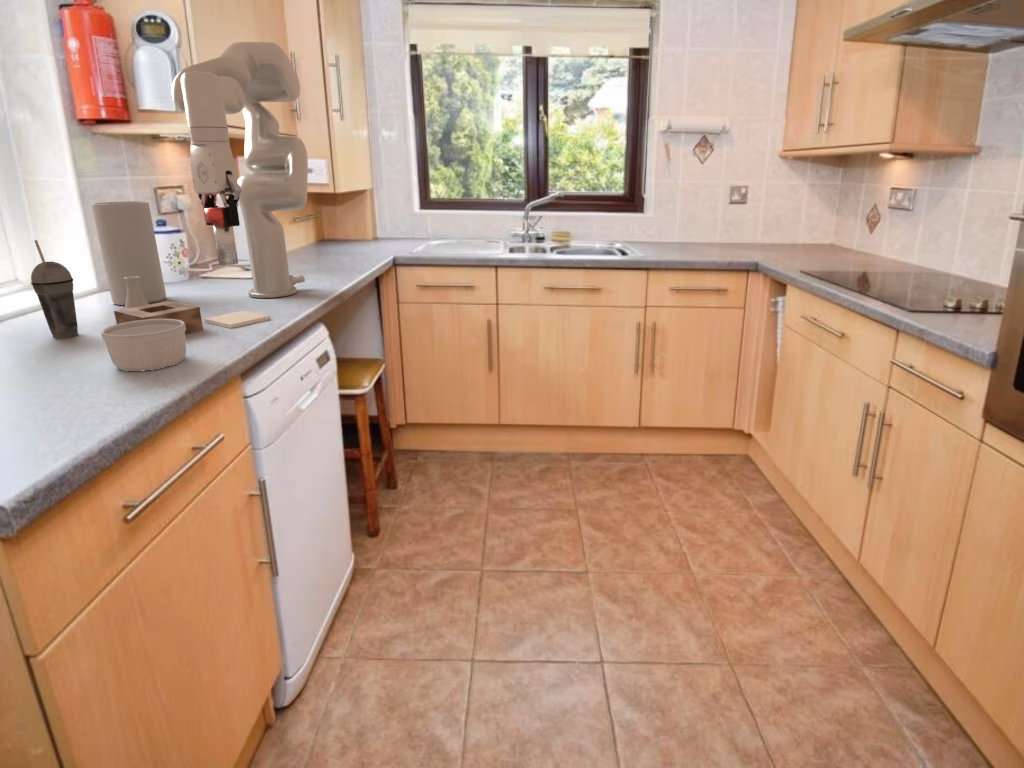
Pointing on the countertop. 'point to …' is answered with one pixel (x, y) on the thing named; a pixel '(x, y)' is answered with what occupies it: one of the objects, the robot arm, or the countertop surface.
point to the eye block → (163, 314)
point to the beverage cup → (55, 297)
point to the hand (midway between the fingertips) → (222, 224)
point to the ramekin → (146, 343)
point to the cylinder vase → (129, 248)
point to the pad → (237, 319)
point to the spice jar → (222, 236)
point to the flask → (134, 293)
